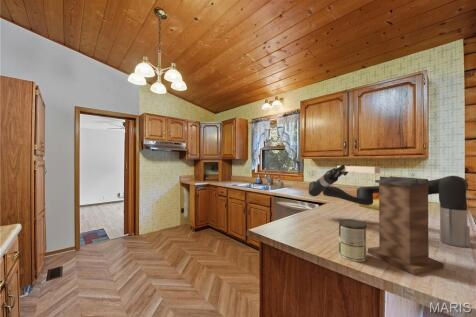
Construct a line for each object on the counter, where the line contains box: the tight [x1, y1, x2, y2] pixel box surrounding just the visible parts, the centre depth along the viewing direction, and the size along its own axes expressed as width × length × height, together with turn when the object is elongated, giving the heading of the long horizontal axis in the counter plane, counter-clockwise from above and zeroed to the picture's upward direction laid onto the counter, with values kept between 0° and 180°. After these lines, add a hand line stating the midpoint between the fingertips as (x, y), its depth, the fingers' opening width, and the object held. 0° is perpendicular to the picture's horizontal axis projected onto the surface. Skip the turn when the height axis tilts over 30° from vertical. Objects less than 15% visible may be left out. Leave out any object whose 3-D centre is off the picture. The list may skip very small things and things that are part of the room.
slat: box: [336, 165, 381, 174], centre depth 110 cm, size 24×4×3 cm, turn 16°
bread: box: [358, 193, 379, 212], centre depth 174 cm, size 25×12×15 cm, turn 23°
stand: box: [367, 175, 445, 276], centre depth 83 cm, size 18×16×34 cm
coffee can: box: [338, 218, 367, 263], centre depth 86 cm, size 10×10×14 cm
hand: (346, 166), depth 116 cm, fingers closed on slat, 3 cm apart
